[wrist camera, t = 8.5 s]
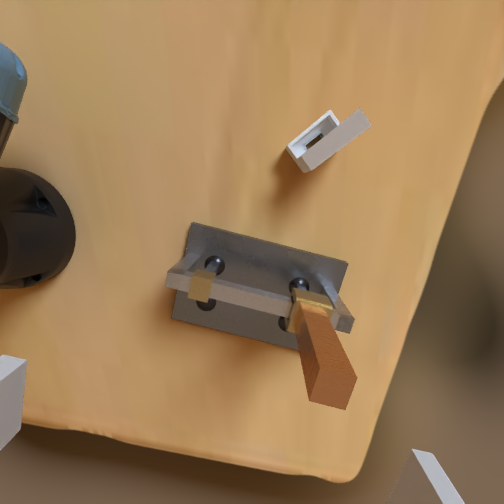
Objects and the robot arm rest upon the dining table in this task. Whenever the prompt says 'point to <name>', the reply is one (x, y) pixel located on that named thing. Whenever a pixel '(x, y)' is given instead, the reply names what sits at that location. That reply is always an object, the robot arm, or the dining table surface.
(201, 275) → the grey bracket frame
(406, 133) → the dining table surface
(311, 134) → the white wedge bracket
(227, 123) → the dining table surface
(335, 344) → the sliding leg
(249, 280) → the bolt plate
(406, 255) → the dining table surface
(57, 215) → the robot arm
